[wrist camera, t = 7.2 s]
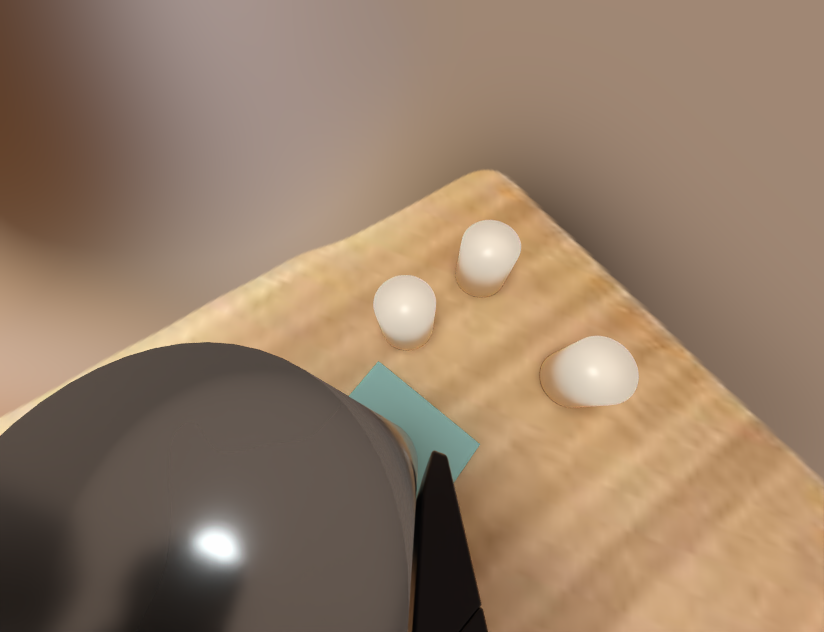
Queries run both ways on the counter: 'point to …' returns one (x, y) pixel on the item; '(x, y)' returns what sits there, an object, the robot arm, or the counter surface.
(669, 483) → the counter surface
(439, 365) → the counter surface
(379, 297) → the cylinder
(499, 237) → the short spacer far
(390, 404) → the teal pad
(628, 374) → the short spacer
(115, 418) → the dark metallic domed cylinder
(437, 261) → the counter surface
